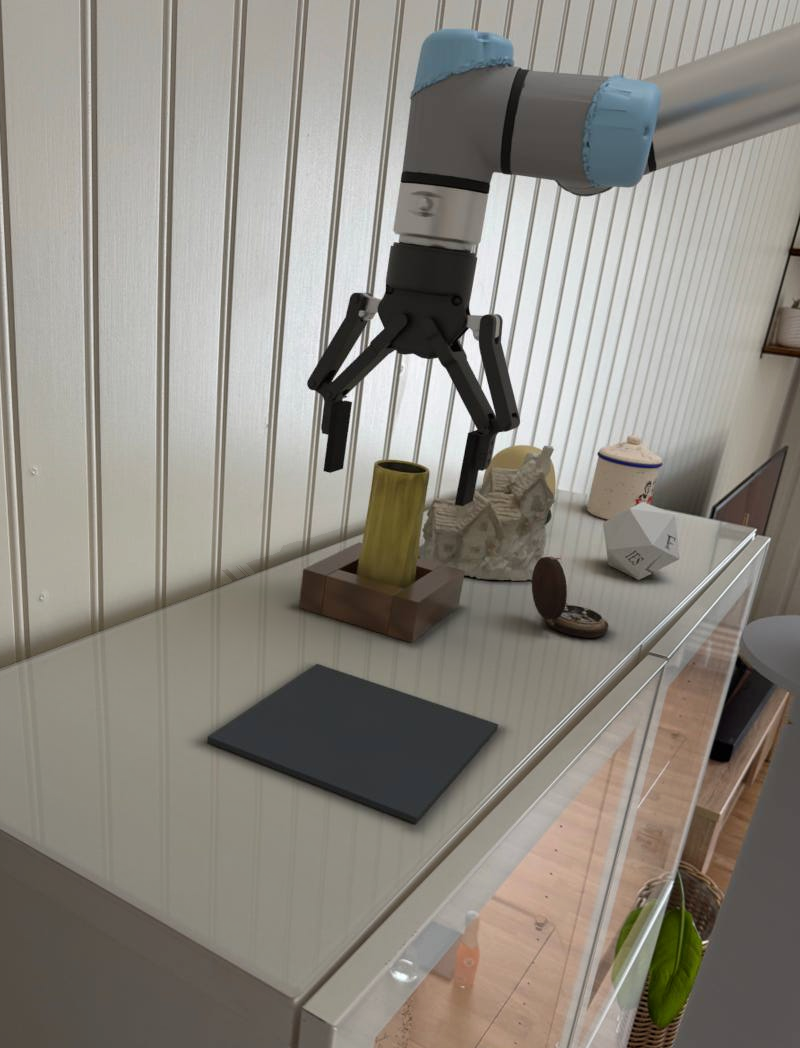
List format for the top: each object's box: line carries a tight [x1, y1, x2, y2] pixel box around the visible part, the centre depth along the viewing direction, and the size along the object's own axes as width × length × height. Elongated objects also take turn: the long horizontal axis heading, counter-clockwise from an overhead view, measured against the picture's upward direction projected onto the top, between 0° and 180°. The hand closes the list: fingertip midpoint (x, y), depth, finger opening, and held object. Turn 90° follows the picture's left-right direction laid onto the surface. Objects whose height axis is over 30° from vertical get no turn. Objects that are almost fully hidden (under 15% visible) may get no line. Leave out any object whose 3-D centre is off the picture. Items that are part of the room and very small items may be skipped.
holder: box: [298, 541, 465, 644], centre depth 95 cm, size 12×12×4 cm
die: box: [602, 502, 681, 581], centre depth 115 cm, size 8×9×10 cm
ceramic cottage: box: [418, 445, 556, 582], centre depth 111 cm, size 16×16×15 cm
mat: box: [206, 663, 499, 825], centre depth 71 cm, size 16×16×1 cm
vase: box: [356, 459, 431, 588], centre depth 93 cm, size 6×6×14 cm
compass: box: [531, 556, 609, 639], centre depth 96 cm, size 8×8×7 cm
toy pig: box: [482, 444, 556, 527], centre depth 129 cm, size 10×12×11 cm
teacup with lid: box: [586, 434, 663, 521], centre depth 140 cm, size 12×9×12 cm
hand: (396, 486), depth 91 cm, fingers open, 13 cm apart
